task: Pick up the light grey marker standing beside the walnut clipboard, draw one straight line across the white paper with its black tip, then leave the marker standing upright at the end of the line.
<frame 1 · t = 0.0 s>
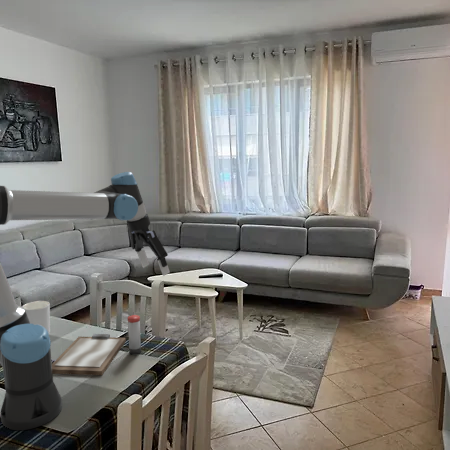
hand: (155, 269, 151), 28 cm above the table, tool tilted 20°, fingers open, 13 cm apart
marker: (135, 352, 148), on the table
candle holder: (38, 334, 163), on the table
clipboard: (89, 356, 145), on the table
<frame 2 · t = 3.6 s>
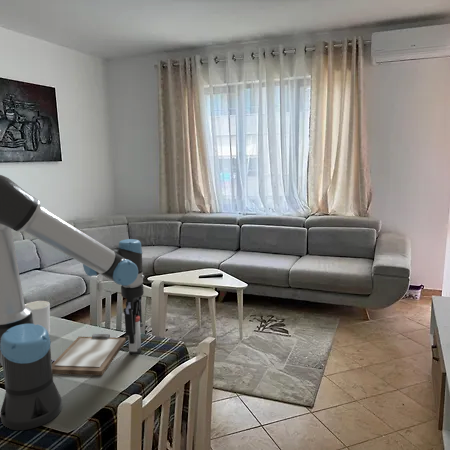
hand: (135, 347, 148), 2 cm above the table, tool pointing down, fingers closed on marker, 4 cm apart
marker: (135, 352, 148), on the table, touching gripper
everything else where it was.
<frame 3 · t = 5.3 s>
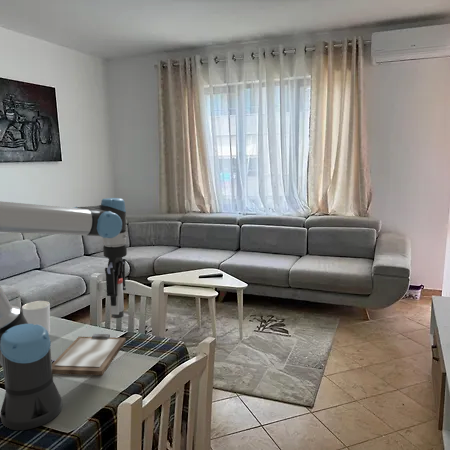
hand: (117, 311, 143), 16 cm above the table, tool pointing down, fingers closed on marker, 4 cm apart
marker: (117, 315, 143), point 14 cm above the table, touching gripper
everything else where it was.
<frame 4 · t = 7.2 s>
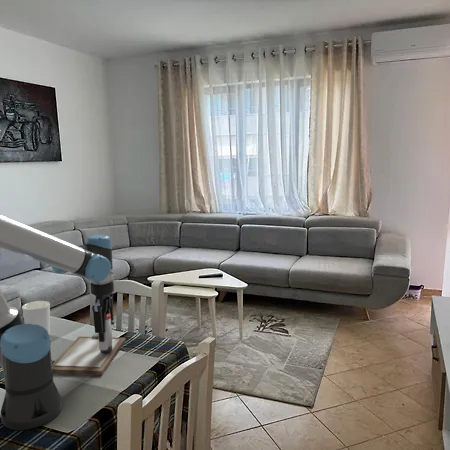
hand: (105, 346, 144), 4 cm above the table, tool pointing down, fingers closed on marker, 4 cm apart
marker: (106, 350, 144), point 2 cm above the table, touching gripper
everything else where it was.
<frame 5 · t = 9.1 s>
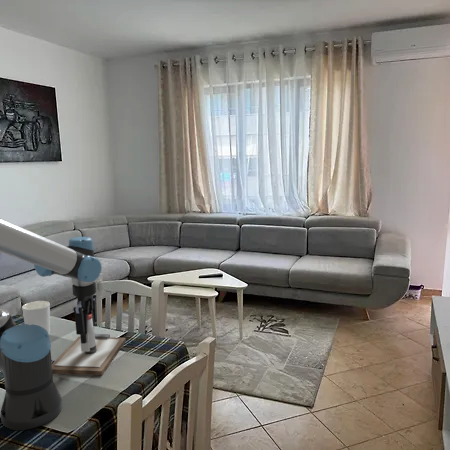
hand: (88, 347, 144), 3 cm above the table, tool pointing down, fingers closed on marker, 4 cm apart
marker: (90, 351, 145), point 2 cm above the table, touching gripper
everything else where it was.
when the fingers open (4 cm above the table, at t = 10.9 s): marker drops 1 cm, resting on clipboard.
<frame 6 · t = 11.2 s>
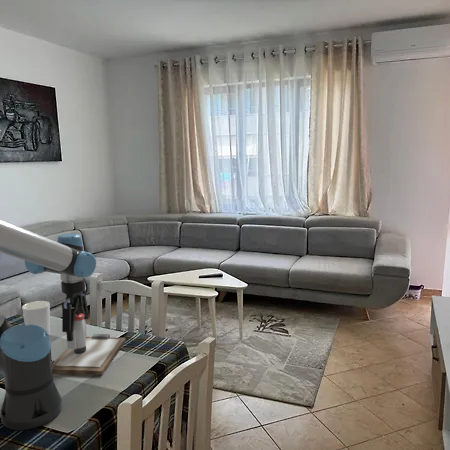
hand: (77, 342, 145), 5 cm above the table, tool pointing down, fingers open, 8 cm apart
marker: (80, 351, 145), point 2 cm above the table, touching clipboard
everything else where it was.
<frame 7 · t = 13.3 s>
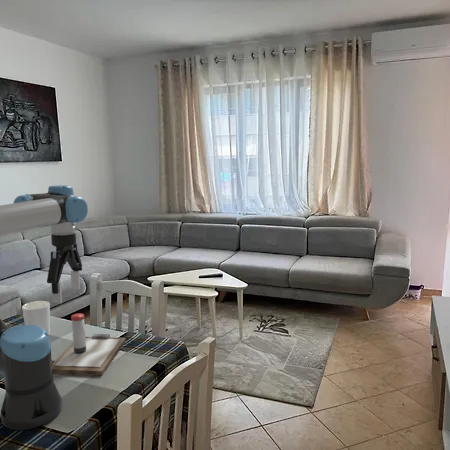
hand: (67, 295, 139), 23 cm above the table, tool pointing down, fingers open, 13 cm apart
nothing on the table moved.
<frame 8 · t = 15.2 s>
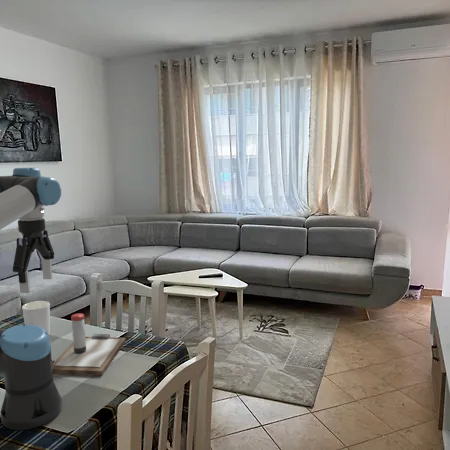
hand: (37, 285, 131), 29 cm above the table, tool pointing down, fingers open, 13 cm apart
nothing on the table moved.
at the end: marker inside the target area on the clipboard (0.8 cm from its centre), point 1.8 cm above the clipboard's base; marker tilted 0°; the gripper is holding nothing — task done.
